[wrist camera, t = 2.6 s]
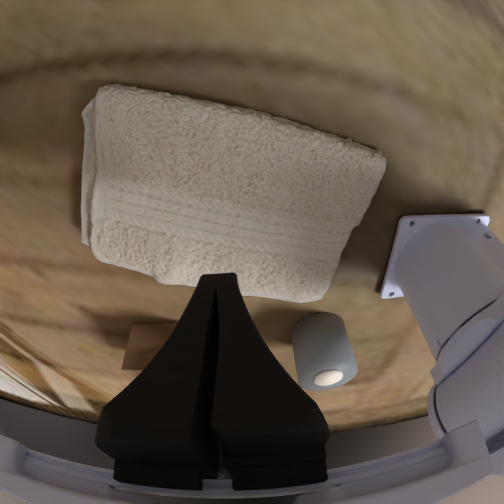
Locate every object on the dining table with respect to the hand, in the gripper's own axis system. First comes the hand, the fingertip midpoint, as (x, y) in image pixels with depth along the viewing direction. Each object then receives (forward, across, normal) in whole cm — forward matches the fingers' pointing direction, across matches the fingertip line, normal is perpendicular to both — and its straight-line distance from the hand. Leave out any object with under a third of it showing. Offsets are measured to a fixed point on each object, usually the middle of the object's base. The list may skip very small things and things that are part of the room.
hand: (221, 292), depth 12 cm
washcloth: (+9, 0, 0) cm, 9 cm away
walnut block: (+8, +7, +14) cm, 18 cm away
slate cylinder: (+8, -7, +14) cm, 18 cm away
